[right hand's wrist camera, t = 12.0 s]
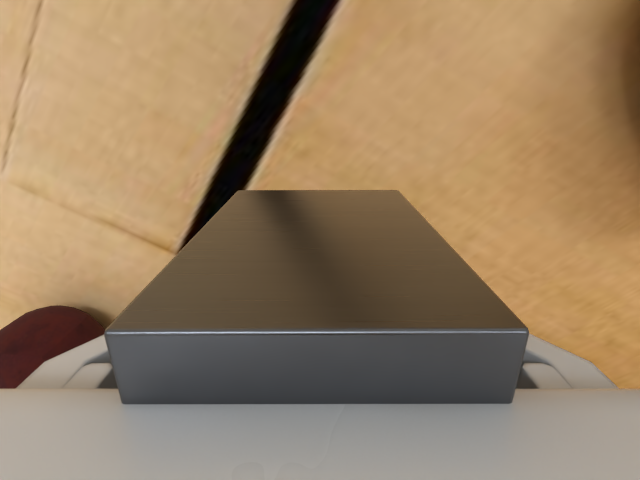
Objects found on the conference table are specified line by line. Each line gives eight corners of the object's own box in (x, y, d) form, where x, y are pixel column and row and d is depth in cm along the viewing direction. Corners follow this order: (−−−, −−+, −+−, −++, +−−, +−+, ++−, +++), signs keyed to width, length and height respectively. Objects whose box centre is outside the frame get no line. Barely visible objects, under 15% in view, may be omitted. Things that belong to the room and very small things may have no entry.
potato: (51, 369, 30) (-24, 442, 24) (24, 288, 27) (-70, 346, 21) (137, 369, 30) (86, 442, 24) (119, 288, 27) (55, 346, 21)
